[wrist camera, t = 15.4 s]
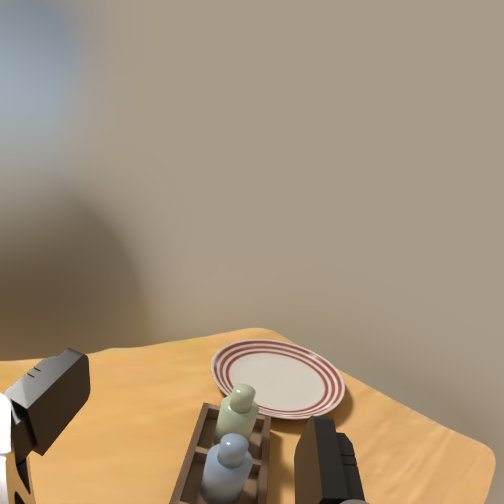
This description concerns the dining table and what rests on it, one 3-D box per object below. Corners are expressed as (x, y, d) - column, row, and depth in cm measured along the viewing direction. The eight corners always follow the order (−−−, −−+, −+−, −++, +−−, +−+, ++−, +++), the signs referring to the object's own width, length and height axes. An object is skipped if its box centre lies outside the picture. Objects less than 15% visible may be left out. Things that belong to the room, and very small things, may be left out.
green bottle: (210, 450, 39) (222, 397, 37) (216, 428, 44) (227, 375, 42) (245, 457, 39) (262, 406, 36) (248, 434, 44) (264, 383, 42)
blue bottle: (196, 502, 29) (206, 454, 27) (203, 474, 34) (215, 422, 32) (237, 511, 29) (257, 464, 27) (241, 482, 34) (260, 432, 32)
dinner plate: (246, 444, 43) (251, 431, 42) (190, 353, 66) (192, 340, 65) (365, 408, 56) (371, 396, 55) (293, 345, 79) (296, 334, 79)
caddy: (168, 514, 27) (168, 504, 26) (201, 415, 47) (203, 402, 47) (258, 533, 26) (264, 524, 26) (266, 429, 47) (270, 416, 46)
